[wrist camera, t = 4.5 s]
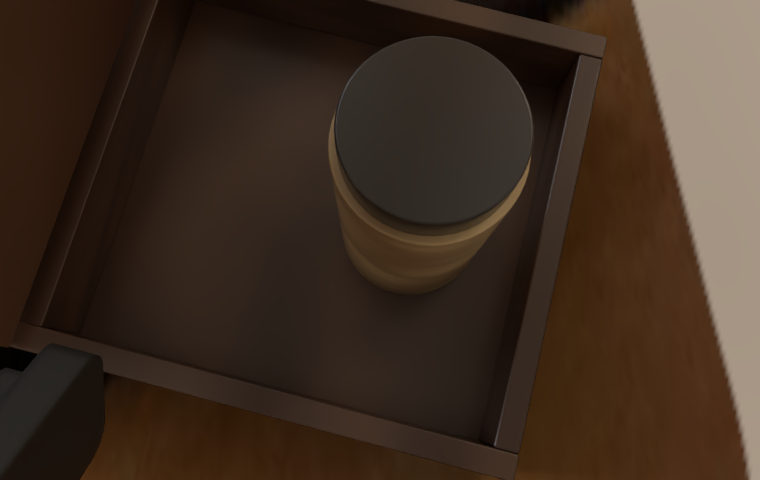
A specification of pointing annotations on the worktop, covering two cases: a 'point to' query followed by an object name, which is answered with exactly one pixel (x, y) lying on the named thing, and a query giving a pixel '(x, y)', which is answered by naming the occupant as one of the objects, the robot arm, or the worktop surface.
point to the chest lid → (45, 123)
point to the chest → (303, 229)
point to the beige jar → (426, 159)
